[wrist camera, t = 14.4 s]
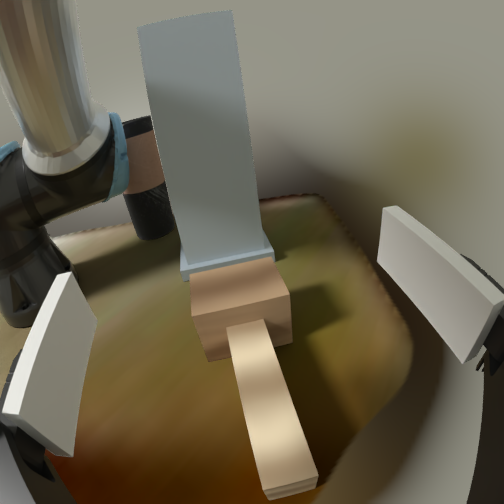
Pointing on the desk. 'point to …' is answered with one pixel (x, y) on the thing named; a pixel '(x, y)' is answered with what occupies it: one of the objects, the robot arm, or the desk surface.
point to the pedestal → (204, 139)
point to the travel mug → (146, 182)
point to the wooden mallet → (256, 364)
